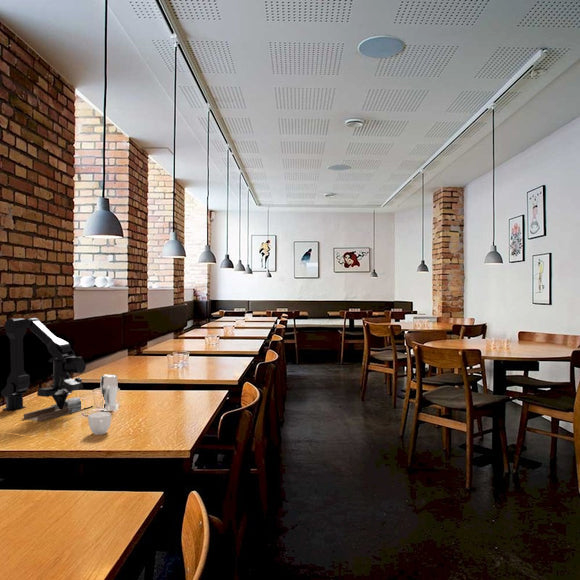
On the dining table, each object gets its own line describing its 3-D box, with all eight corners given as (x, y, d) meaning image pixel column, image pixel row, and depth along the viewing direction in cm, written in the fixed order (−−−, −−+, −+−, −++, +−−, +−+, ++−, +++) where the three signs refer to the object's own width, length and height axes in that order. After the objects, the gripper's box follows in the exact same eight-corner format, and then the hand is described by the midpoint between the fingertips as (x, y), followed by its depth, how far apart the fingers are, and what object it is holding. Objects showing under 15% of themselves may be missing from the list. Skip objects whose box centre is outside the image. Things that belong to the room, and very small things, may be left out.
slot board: (20, 419, 190) (20, 413, 190) (72, 405, 214) (72, 399, 214) (42, 423, 186) (42, 416, 186) (93, 407, 210) (93, 401, 210)
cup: (110, 428, 179) (110, 410, 178) (112, 436, 170) (112, 417, 169) (87, 431, 175) (87, 413, 175) (89, 439, 166) (89, 420, 166)
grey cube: (60, 410, 203) (60, 401, 203) (68, 408, 207) (68, 398, 207) (67, 411, 202) (67, 401, 202) (75, 409, 205) (75, 399, 205)
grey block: (68, 408, 207) (68, 398, 207) (75, 405, 211) (75, 397, 211) (75, 409, 206) (75, 399, 206) (82, 406, 209) (82, 397, 209)
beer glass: (120, 408, 208) (120, 374, 208) (113, 412, 201) (113, 377, 201) (105, 408, 209) (105, 374, 209) (97, 412, 202) (97, 377, 202)
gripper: (56, 377, 189) (56, 416, 189) (92, 370, 207) (92, 405, 207) (36, 375, 194) (36, 413, 194) (73, 368, 211) (73, 403, 211)
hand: (60, 409), depth 201 cm, fingers closed
